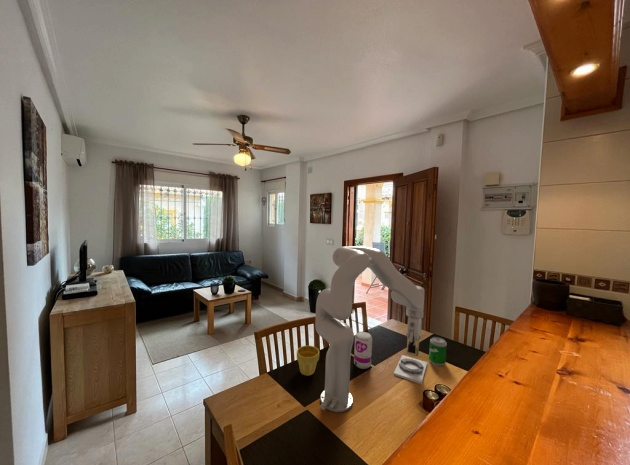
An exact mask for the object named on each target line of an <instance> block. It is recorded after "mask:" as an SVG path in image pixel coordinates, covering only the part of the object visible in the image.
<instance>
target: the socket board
mask: <svg viewBox="0 0 630 465" xmlns="http://www.w3.org/2000/svg"><path fill="white" fill-rule="evenodd" d="M427 366H428V362H427V361H424V360H421V359H418V358H414V357H412V356H411V357H410V356H408V355H404V354H401V356H400V358H399V361H398V363H397V366H396V367H395V369H394V372H393V376H396V377H398V378H402V379H405V380H408V381H411V382H413V383H417V384H418V385H419V384H420V385H422V384H423V381H424V377H425V373H426V370H427V368H428V367H427Z"/></svg>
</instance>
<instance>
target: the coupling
mask: <svg viewBox="0 0 630 465" xmlns="http://www.w3.org/2000/svg"><path fill="white" fill-rule="evenodd" d="M406 337H407V334H406ZM413 338H414V337H413ZM420 339H421V336H420V337H419V339H418V340H415V345H416V350H415V354H414V353H410V352H408V343H409V338H408V337H407V339H406V340H407V342H406V354H407V355H409V356H411V357H418V356H419V355H420V354H419V353H420V352H419V350H420ZM413 341H414V340H413Z"/></svg>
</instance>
